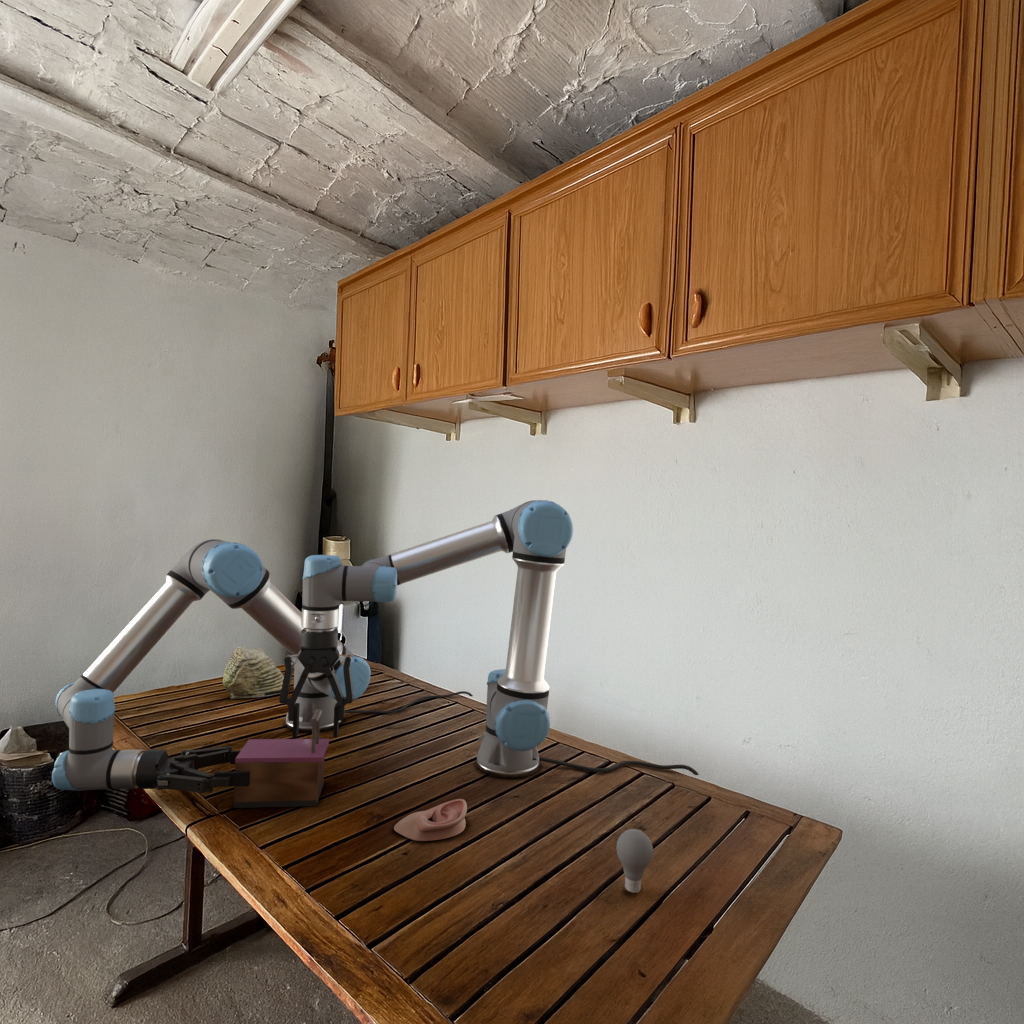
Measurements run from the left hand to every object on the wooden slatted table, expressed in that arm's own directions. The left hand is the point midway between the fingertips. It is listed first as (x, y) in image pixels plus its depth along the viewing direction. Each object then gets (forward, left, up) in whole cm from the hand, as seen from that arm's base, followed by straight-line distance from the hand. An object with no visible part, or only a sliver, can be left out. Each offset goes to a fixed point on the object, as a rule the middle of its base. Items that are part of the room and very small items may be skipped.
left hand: (255, 767), depth 133 cm
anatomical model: (-16, +36, -6) cm, 40 cm away
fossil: (-34, -62, -6) cm, 71 cm away
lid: (-4, +4, +3) cm, 6 cm away
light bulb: (-25, +75, -6) cm, 79 cm away
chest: (-4, +4, -6) cm, 8 cm away
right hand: (-9, +8, +7) cm, 14 cm away
